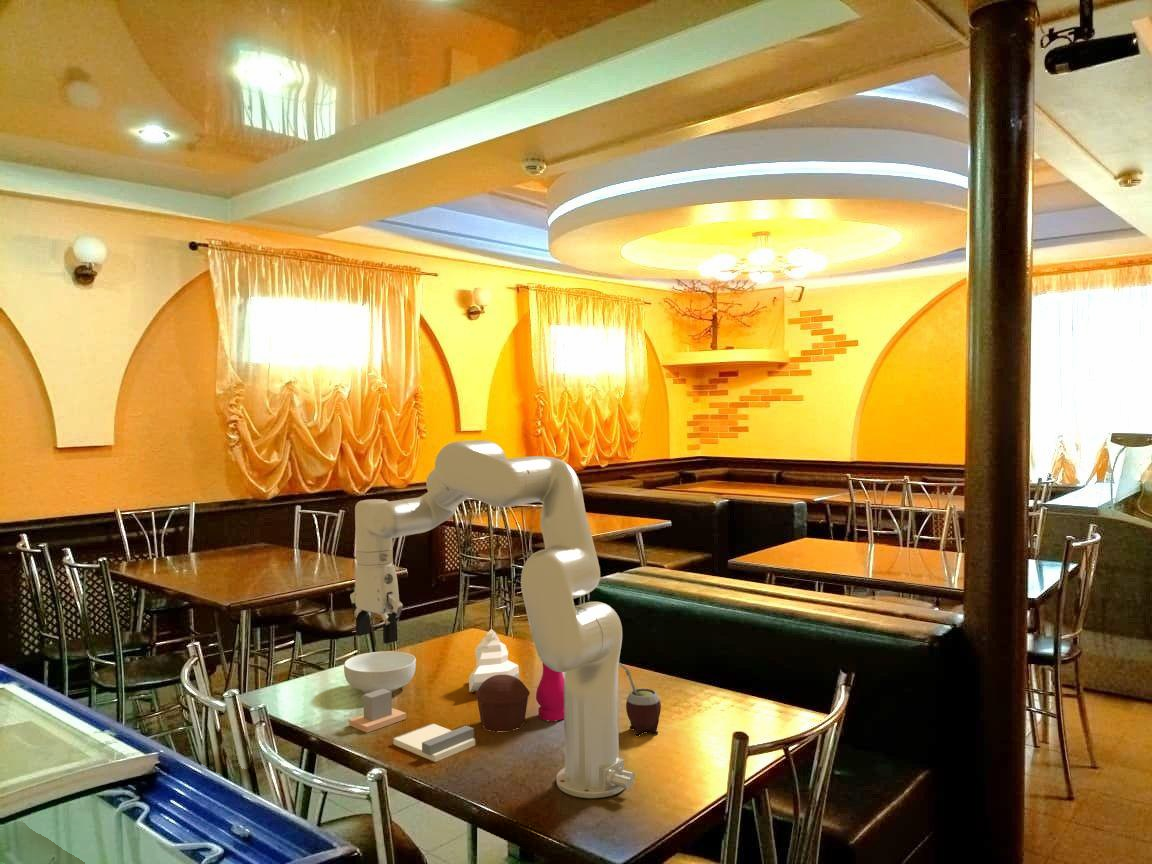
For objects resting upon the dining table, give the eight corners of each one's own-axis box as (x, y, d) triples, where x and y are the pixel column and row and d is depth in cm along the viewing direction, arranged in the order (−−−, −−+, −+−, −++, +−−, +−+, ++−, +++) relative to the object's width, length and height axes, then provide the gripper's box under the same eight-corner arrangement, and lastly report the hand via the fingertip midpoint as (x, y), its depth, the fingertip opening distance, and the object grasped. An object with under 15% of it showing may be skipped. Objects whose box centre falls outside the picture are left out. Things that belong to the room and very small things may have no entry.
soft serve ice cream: (451, 693, 195) (448, 632, 199) (506, 686, 204) (502, 628, 207) (474, 693, 185) (471, 630, 189) (531, 686, 194) (527, 625, 197)
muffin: (465, 723, 172) (464, 676, 172) (508, 710, 179) (507, 665, 179) (497, 740, 163) (496, 690, 163) (541, 725, 170) (540, 678, 170)
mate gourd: (667, 729, 167) (665, 656, 167) (648, 742, 160) (647, 666, 160) (635, 722, 171) (634, 651, 171) (616, 734, 165) (615, 661, 164)
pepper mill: (565, 723, 171) (564, 628, 171) (532, 721, 172) (530, 627, 172) (572, 711, 178) (571, 620, 178) (540, 709, 179) (539, 619, 179)
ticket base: (477, 744, 161) (477, 729, 161) (433, 762, 152) (432, 747, 152) (434, 728, 169) (434, 714, 169) (390, 745, 161) (390, 730, 161)
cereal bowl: (400, 703, 185) (400, 672, 185) (332, 700, 187) (331, 670, 187) (426, 679, 202) (425, 651, 201) (362, 677, 204) (362, 649, 204)
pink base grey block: (406, 718, 175) (405, 690, 175) (366, 732, 167) (366, 702, 167) (388, 711, 179) (387, 683, 179) (349, 725, 172) (348, 696, 171)
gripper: (414, 559, 170) (416, 641, 170) (365, 551, 181) (367, 628, 181) (384, 564, 164) (386, 649, 164) (336, 556, 175) (338, 635, 176)
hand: (376, 638), depth 173 cm, fingers open, 9 cm apart
